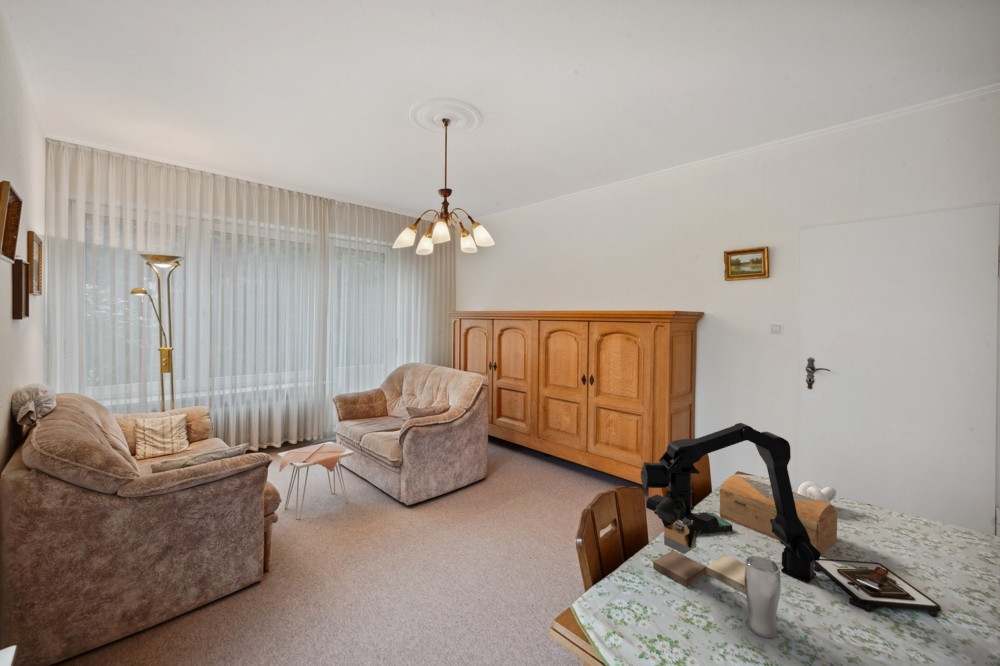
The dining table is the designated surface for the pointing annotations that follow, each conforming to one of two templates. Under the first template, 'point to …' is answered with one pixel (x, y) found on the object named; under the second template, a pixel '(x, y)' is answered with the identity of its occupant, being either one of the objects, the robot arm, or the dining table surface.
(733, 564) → the stand
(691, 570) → the stand
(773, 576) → the beer glass
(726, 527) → the disk drive
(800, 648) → the dining table surface
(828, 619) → the dining table surface
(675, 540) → the block
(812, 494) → the white knot sculpture
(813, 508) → the wooden box
